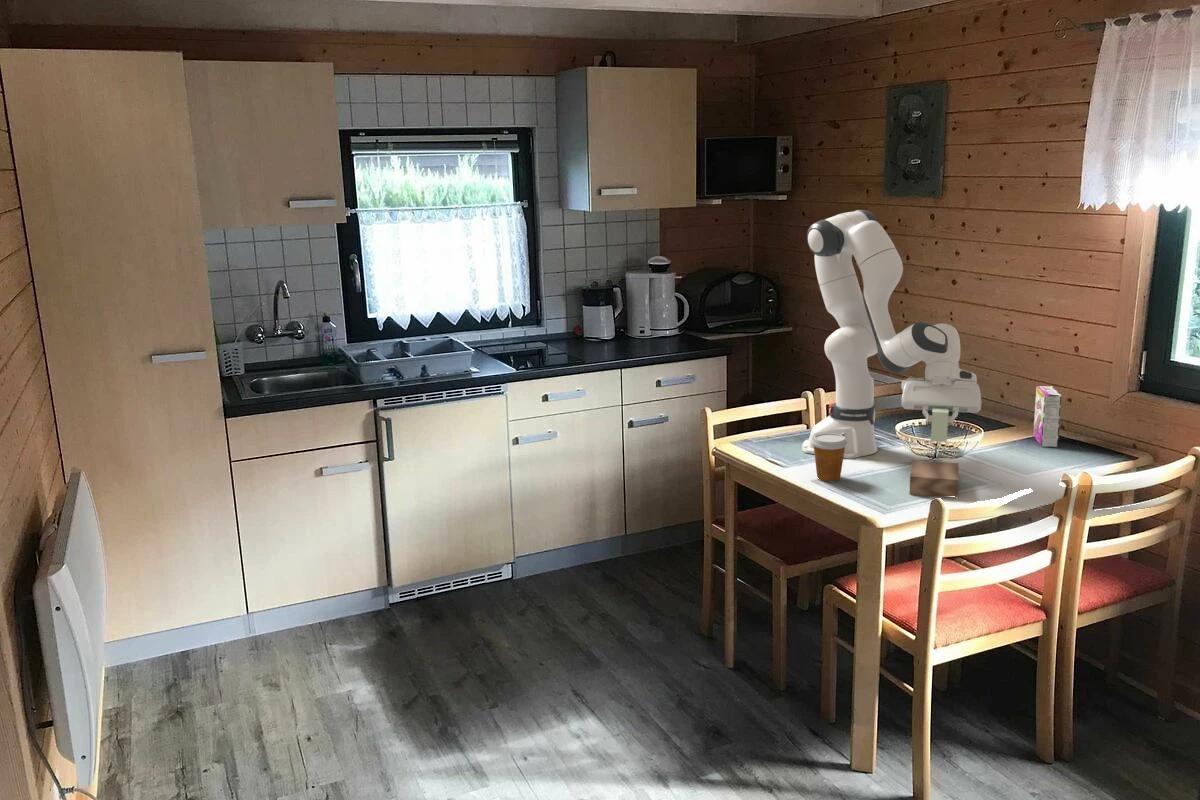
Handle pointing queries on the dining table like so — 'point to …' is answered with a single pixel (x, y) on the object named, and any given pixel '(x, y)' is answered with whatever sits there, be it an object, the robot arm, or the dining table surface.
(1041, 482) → the dining table surface
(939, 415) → the sage block
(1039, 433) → the candy bar box
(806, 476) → the dining table surface
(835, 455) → the disposable coffee cup
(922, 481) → the walnut plinth
